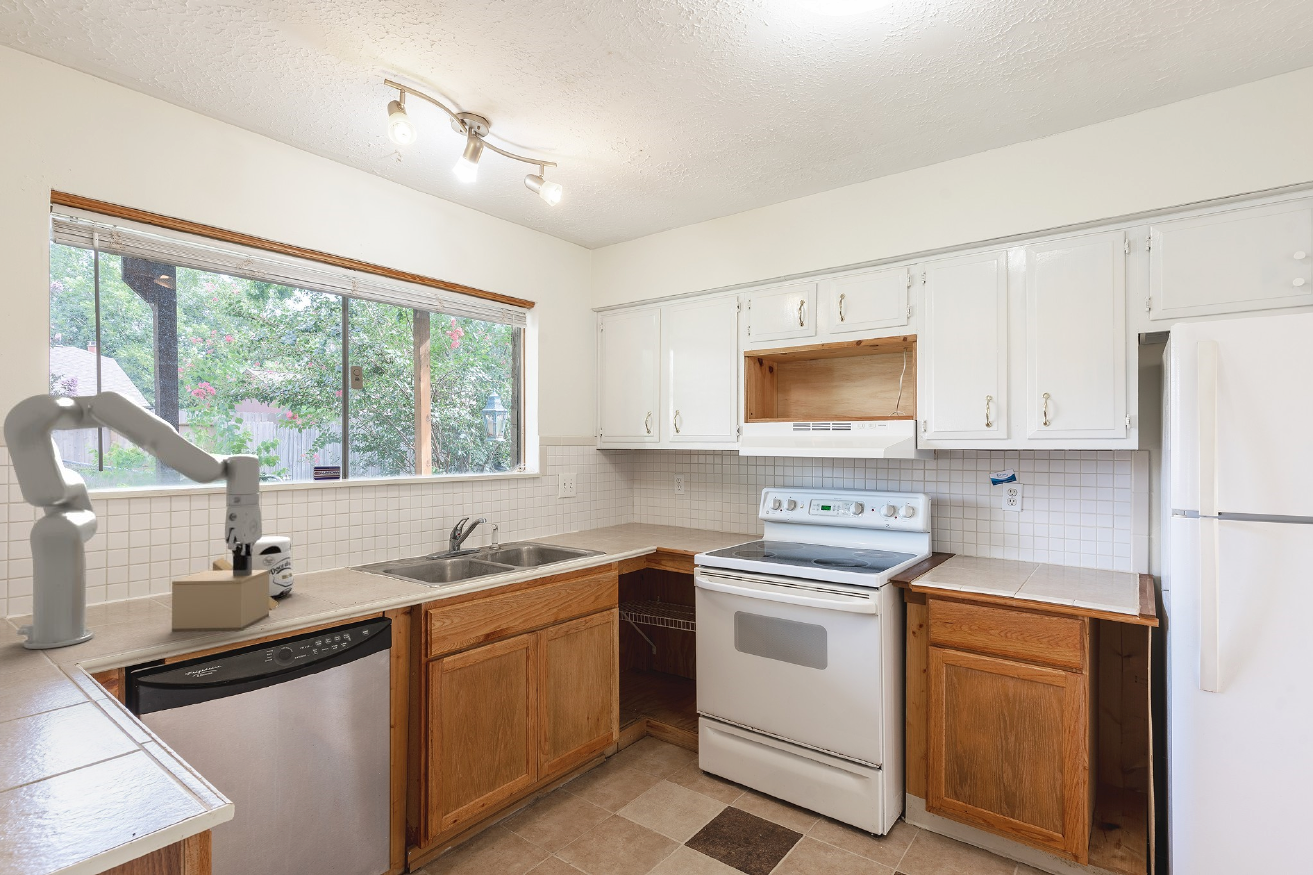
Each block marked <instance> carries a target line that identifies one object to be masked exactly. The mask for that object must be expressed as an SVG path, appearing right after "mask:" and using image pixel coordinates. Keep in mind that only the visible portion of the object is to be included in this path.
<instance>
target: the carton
mask: <svg viewBox="0 0 1313 875" xmlns="http://www.w3.org/2000/svg"><path fill="white" fill-rule="evenodd" d="M268 617H270V610H269V573H268V574H265V575H262V576H260V577H257V578H255V579H252V580H249V581H247V582H244V583H242V584H171V632H172V633H174V632H181V633H182V632H226V631H227V632H229V631H234V632H235V631H237V632H239V631H240V632H241V631H243V630H245V629H247V628H249V627H251V626H253V625H255V624H256V623H258V622H260V620H261V621H262V620H264V619H266V618H268Z"/></svg>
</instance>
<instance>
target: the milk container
mask: <svg viewBox="0 0 1313 875" xmlns="http://www.w3.org/2000/svg"><path fill="white" fill-rule="evenodd" d="M237 543H240V542H237ZM291 548H292V544H291V537H286V536H262V538H261V539H260V540H258V541H257V542H256V543H255V544H254V545H253V552H252V570H269V596H270V597H271V598H273V599H276V598H280V597H283V596H285V595H288V594H289V593H290V592H291V591H292V589H293V587H294V583H295V582H294V579H295V578H294V572H293V569H292V565H291V563H292V562H291V557H292V554H291V553H292V552H291V551H292V550H291Z"/></svg>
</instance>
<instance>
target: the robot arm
mask: <svg viewBox="0 0 1313 875" xmlns="http://www.w3.org/2000/svg"><path fill="white" fill-rule="evenodd" d="M98 428H106V429H109V430H110V431H112V432H113V433H115V434H117V435H119V436H120V437H122V438H124V439H125V440H127V441H129V442H131V443H132V444H134V445H136V446H137V447H138V448H141V449H142V450H143V451H145V452H146V453H147V454H149V455H150V456H152V457H154V458H155V459H157V460H158V461H160V462H162V463H163V464H164V465H166V466H168V467H169V468H171V469H172V470H175V471H176V472H178V473H179V474H181V475H183V476H184V477H185V478H187V479H189V480H191V481H193V482H195V483H197V484H211V483H215V482H222V481H226V482H225V484H226V489H225V490H226V491H225V492H226V495H225V496H226V497H225V498H226V500H225V502H226V504H225V505H226V506H225V507H226V514H225V524H224V541H225V543H226V544H227V549H228V550H230V551H231V554H232V566H233V570H246V569H247V556H252V552H253V545H254V544H255V543H256V542H257V541H258V540H260V539H261V538H262V537H263V532H262V531H263V529H262V527H263V524H262V514H261V507H260V468H261V467H260V463H261V462H260V458H259V456H257V455H255V454H231V455H225V454H215V453H208V452H206V451H205V450H204V449H202V448H200V447H198V446H196V445H195V444H193V443H192V442H191V441H189V440H187V439H186V438H184V437H183V436H182V435H180V434H179V432H178V431H177V430H176V428H175V427H174V426H173V425H172V424H170V423H169V422H168V421H166V420H164V419H162V418H161V417H159V416H158V415H156V414H154V413H153V412H152V411H149V410H148V409H147V408H145V407H143V406H142V405H140V404H138V402H137V401H136V400H135V398H133V397H132V396H130V395H128V394H126V393H122V392H117V391H112V390H107V391H106V390H105V391H102V392H99V393H97V394H95V395H82V396H80V395H79V396H62V395H57V394H56V395H55V394H49V393H48V394H45V393H44V394H43V393H42V394H36V395H31V396H29V397H27V398H25V399H23V400H21V401H20V402H18V403H17V404H16V405H14V406H13V407H12V408H11V409H10V410H9V412H8V413H7V414H6V417H5V419H4V422H3V429H2V430H3V437H4V441H5V444H6V447H7V450H8V453H9V456H10V460H11V462H12V467H13V469H14V473H15V476H16V478H17V481H18V485H19V488H20V491H21V495H22V497H23V499H24V500H25V502H26V503H28V505H30V506H33V507H36V508H42V510H43V512H44V516H42V517H39V519H38V520H37V521H36V522H35V523H34V524H33V526H32V528H31V530H30V535H29V543H30V549H31V558H32V624H23V625H21V627H20V628H19V629H18V630H17V632H16V634H17V635H18V636H19V635H20V636H22V635H27V639H26V640H24V641H23V647H24V648H25V649H29V650H43V649H45V650H46V649H53V648H60V647H66V646H72V645H75V644H79V643H83V642H86V641H88V640H89V641H90V640H91V639H92V638H94V637H95V636H94V635H95V634H94V633H95V632H94V631H93V630H91V629H86V628H87V627H86V623H87V621H86V618H87V615H86V614H87V612H86V611H87V562H86V560H87V559H86V558H87V557H86V552H85V547H84V546H85V543H87V542H88V541H90V540H91V539H92V538H93V537H94V536H95V535H96V533H97V530H98V524H99V523H98V518H97V515H96V511H95V508H94V505H93V502H92V499H91V497H90V493H89V489H88V488H87V485H86V483H85V480H84V478H83V477H82V476H81V475H80V474H79V473H78V472H76V471H75V470H73V469H71V468H67V467H65V466H64V464H63V461H62V458H61V454H60V451H59V448H58V445H57V444H56V442H55V440H54V438H53V435H52V434H53V431H72V430H83V429H85V430H87V429H98ZM237 542H240V543H237Z"/></svg>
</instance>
